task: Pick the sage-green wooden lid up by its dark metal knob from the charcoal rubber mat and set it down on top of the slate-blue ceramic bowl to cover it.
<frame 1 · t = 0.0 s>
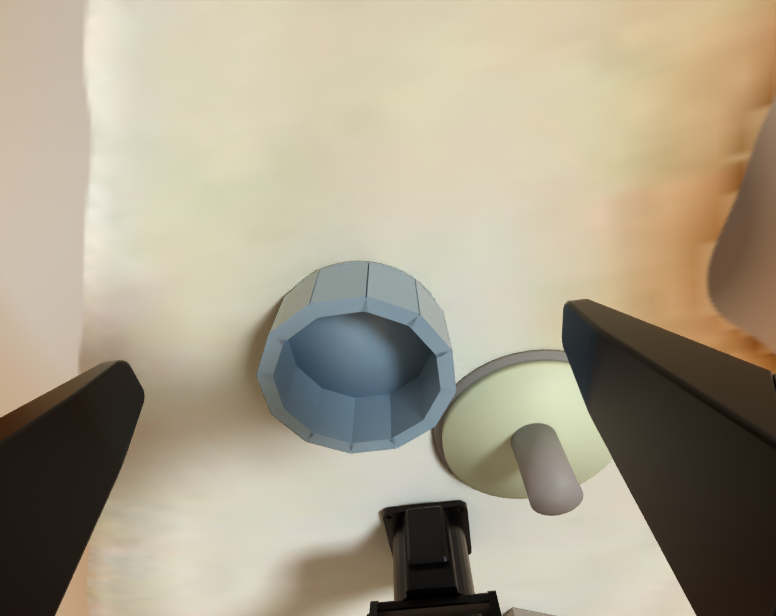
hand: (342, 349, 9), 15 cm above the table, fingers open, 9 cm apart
lid: (530, 430, 30), resting on mat
mat: (528, 427, 30), on the table
bowl: (361, 336, 27), on the table
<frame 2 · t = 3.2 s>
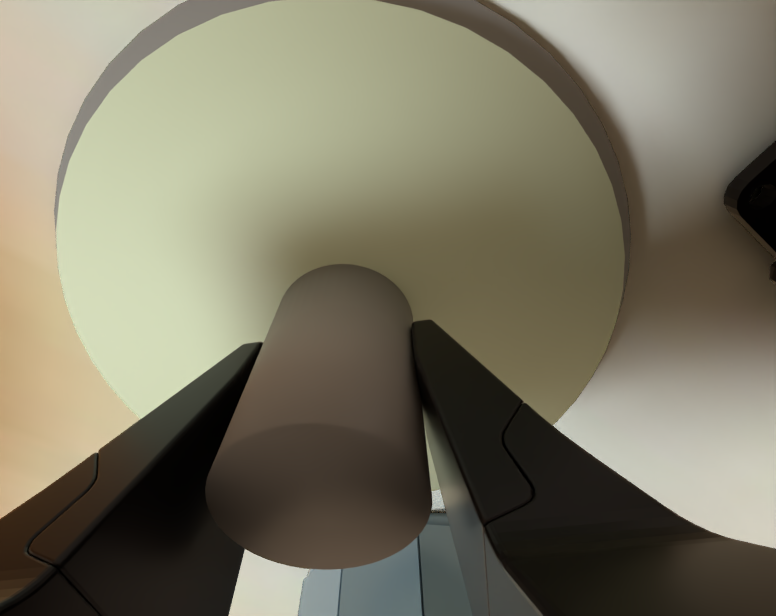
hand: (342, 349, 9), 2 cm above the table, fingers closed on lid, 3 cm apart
lid: (348, 307, 11), resting on mat, touching gripper
mat: (348, 301, 11), on the table
bowl: (432, 590, 18), on the table
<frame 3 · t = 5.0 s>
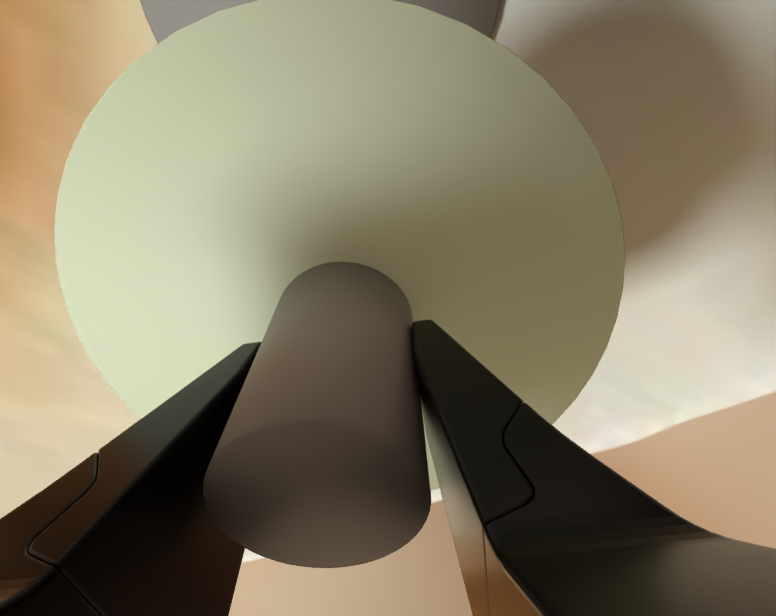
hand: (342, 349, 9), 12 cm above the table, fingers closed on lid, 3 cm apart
lid: (347, 306, 10), point 10 cm above the table, touching gripper
when the fingers open (7 cm above the table, at t = 6.8 s): lid drops 1 cm, point 4 cm above the table.
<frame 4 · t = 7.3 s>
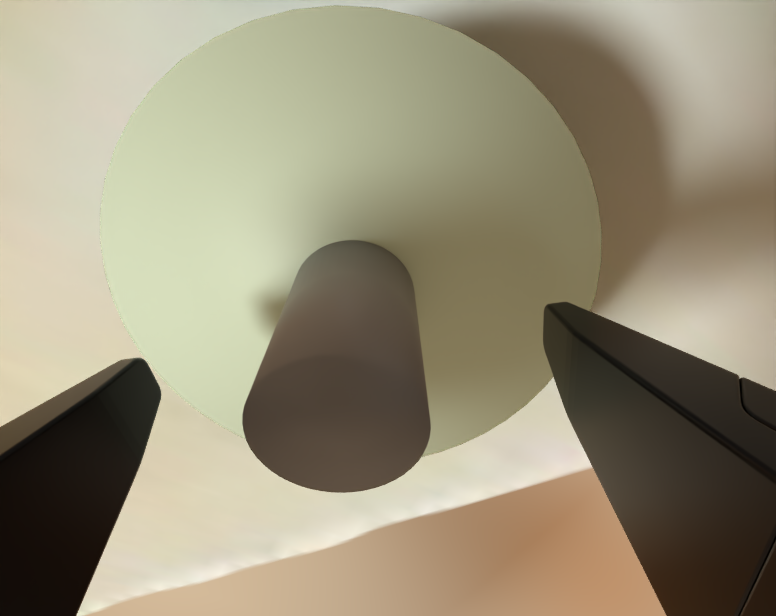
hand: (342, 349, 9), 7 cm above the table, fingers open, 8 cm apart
lid: (356, 282, 12), point 4 cm above the table
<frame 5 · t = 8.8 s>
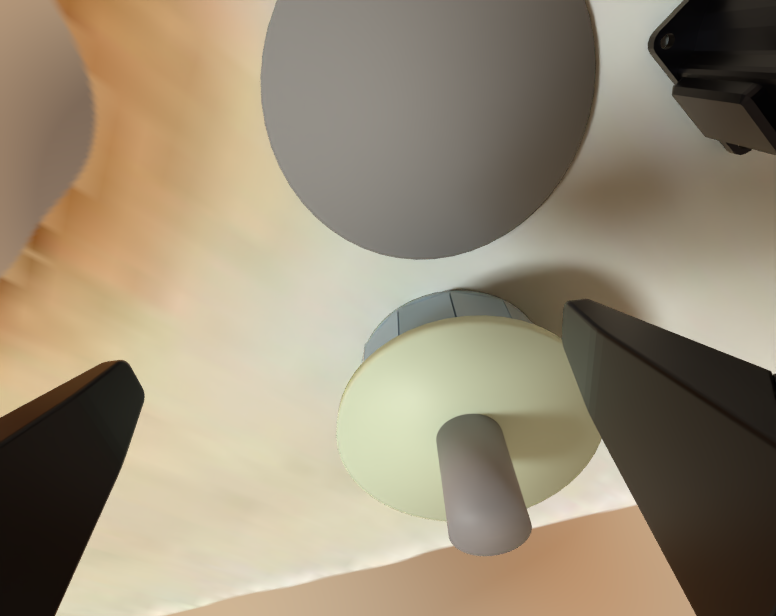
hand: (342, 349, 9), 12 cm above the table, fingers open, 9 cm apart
lid: (466, 425, 21), point 4 cm above the table
mat: (426, 107, 18), on the table
bowl: (451, 369, 25), on the table
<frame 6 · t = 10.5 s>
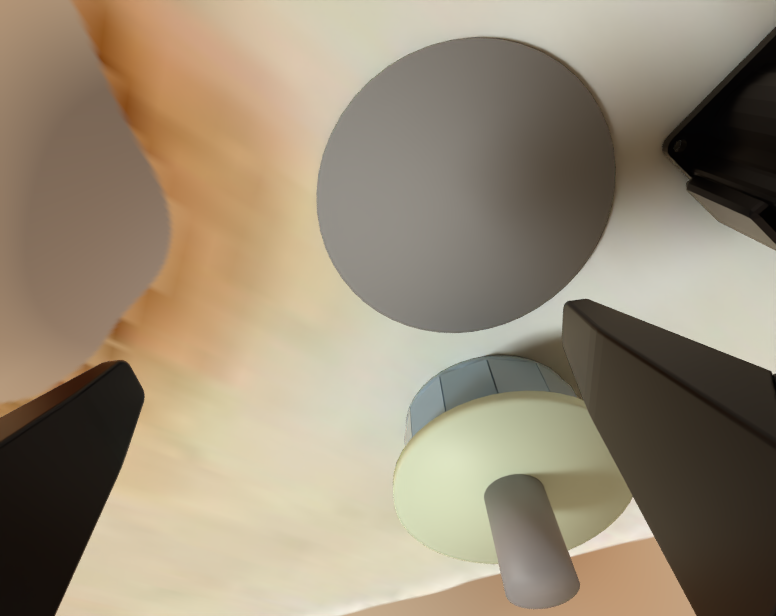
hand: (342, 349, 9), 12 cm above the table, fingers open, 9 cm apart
lid: (510, 480, 23), point 4 cm above the table, touching bowl
mat: (463, 207, 20), on the table
bowl: (489, 421, 27), on the table, touching lid
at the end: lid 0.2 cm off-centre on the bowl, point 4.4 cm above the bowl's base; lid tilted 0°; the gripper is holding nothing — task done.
